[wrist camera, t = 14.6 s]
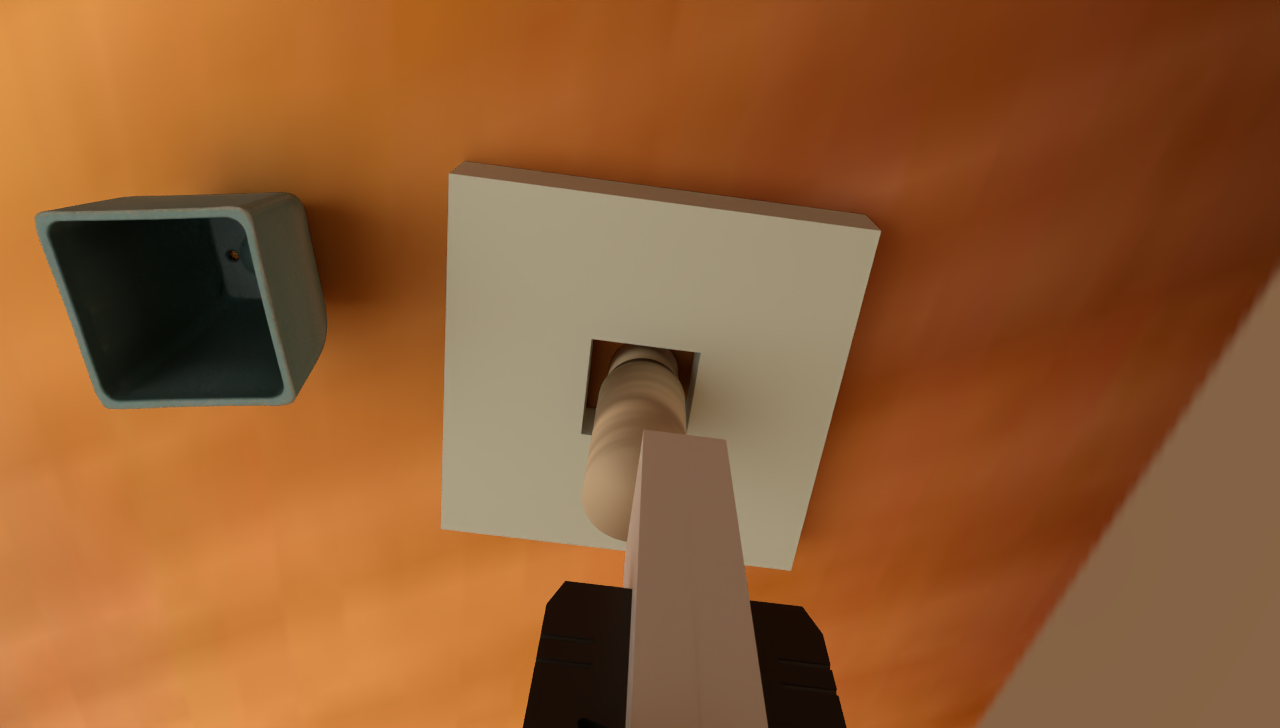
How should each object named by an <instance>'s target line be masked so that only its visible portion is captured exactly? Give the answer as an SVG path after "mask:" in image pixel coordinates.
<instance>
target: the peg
mask: <svg viewBox="0 0 1280 728" xmlns="http://www.w3.org/2000/svg"><path fill="white" fill-rule="evenodd" d="M643 430H652V431H660V432H668V433H676V434H684V435H687V434H686V411H685V394H684V390H683V387H682V385H681V383H680V381H679V379H678V365H677V361H676V359H675V357H674V355H673V354H672V352H671V351H670V350H669V349H666V348H658V347H650V346H643V345H635V344H627V343H626V344H624V345H623V346H621V347H620V348H619V349H618V350H617V351H616V352H615V353H614V355H613V357H612V359H611V361H610V365H609V371H608V376H607V377H606V378H605V380H604V381H603V383H602V385H601V388H600V391H599V397H598V402H597V408H596V414H595V420H594V426H593V431H592V437H591V443H590V449H589V454H588V460H587V466H586V472H585V478H584V483H583V489H582V505H583V508H584V511H585V513H586V515H587V517H588V519H589V520H590V521H591V523H592V524H593V525H594V526H595V527H596V528H597V529H598V530H600V531H601V532H603V533H604V534H606V535H608V536H610V537H612V538H614V539H617V540H621V541H625V542H627V538H628V531H629V524H630V518H631V511H632V504H633V497H634V491H635V484H636V477H637V471H638V464H639V457H640V451H641V444H642V437H643Z"/></svg>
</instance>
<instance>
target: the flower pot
mask: <svg viewBox="0 0 1280 728" xmlns="http://www.w3.org/2000/svg"><path fill="white" fill-rule="evenodd" d="M35 225H36V230H37V234H38V237H39V241H40V242H41V245H42V248H43V251H44V253H45V255H46V259H47V261H48V264H49V266H50V268H51V271H52V274H53V277H54V278H55V281H56V284H57V287H58V289H59V293H60V294H61V297H62V300H63V303H64V305H65V308H66V311H67V314H68V316H69V319H70V321H71V324H72V327H73V330H74V333H75V336H76V338H77V341H78V344H79V348H80V350H81V355H82V357H83V359H84V362H85V365H86V368H87V371H88V373H89V377H90V379H91V382H92V385H93V387H94V390H95V393H96V394H97V396H98V398H99V400H100V401H101V403H102V404H103V405H104V407H106V408H108V409H140V408H160V407H162V408H165V407H190V406H191V407H197V406H246V405H249V406H253V405H257V406H260V405H262V406H267V405H269V406H280V405H287V404H290V403H292V402H294V400H295V398H296V397H297V395H298V393H299V391H300V390H301V388H302V386H303V385H304V383H305V381H306V379H307V378H308V376H309V374H310V372H311V371H312V369H313V367H314V365H315V364H316V362H317V360H318V358H319V356H320V354H321V352H322V349H323V347H324V343H325V339H326V333H327V314H326V307H325V301H324V297H323V292H322V288H321V284H320V279H319V275H318V270H317V265H316V261H315V256H314V251H313V247H312V242H311V237H310V233H309V228H308V223H307V217H306V213H305V209H304V206H303V204H302V202H301V201H300V200H299V199H298V198H297V197H296V196H294V195H292V194H290V193H283V192H271V193H242V194H210V195H173V196H132V197H122V198H116V199H110V200H104V201H99V202H93V203H87V204H81V205H76V206H71V207H65V208H60V209H55V210H49V211H44V212H40V213H38V214H37V215H36V216H35ZM232 250H233V251H235V252H237V253H238V256H239V259H238V260H233V259H231V258H230V256H229V253H230V251H232Z"/></svg>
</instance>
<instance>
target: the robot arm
mask: <svg viewBox="0 0 1280 728" xmlns="http://www.w3.org/2000/svg"><path fill="white" fill-rule="evenodd" d="M836 690H837V688H836V685H835V681H834V677H833V673H832V670H830V661H829V657H828V653H827V649H826V645H825V641H824V637H823V634H822V633H821V631H820V630H819V628H818V627H817V626H816V624H815V623H814V622H813V620H812V619H811V618H810V616H809V615H808V614H807V612H806V611H805V610H804V608H803V607H801V606H792V605H784V604H775V603H767V602H758V601H750V600H749V593H748V586H747V580H746V573H745V566H744V559H743V552H742V545H741V539H740V532H739V525H738V518H737V511H736V504H735V498H734V491H733V484H732V477H731V470H730V463H729V456H728V450H727V443H726V440H724V439H716V438H708V437H700V436H692V435H684V434H676V433H668V432H660V431H652V430H643V437H642V444H641V451H640V457H639V464H638V471H637V477H636V484H635V491H634V497H633V504H632V511H631V518H630V524H629V531H628V538H627V544H626V552H625V567H624V582H623V588H621V587H612V586H604V585H595V584H587V583H578V582H570V581H565V582H564V583H563V585H562V586H561V587H560V588H559V590H558V591H557V592H556V593H555V594H554V596H553V597H552V598H551V599H550V601H549V602H548V603H547V605H546V610H545V615H544V620H543V625H542V631H541V637H540V641H539V646H538V652H537V657H536V663H535V667H534V672H533V678H532V683H531V688H530V693H529V698H528V704H527V709H526V714H525V719H524V725H523V728H846V724H845V720H844V716H843V712H842V708H841V704H840V700H839V696H837V695H836Z"/></svg>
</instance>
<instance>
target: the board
mask: <svg viewBox="0 0 1280 728" xmlns="http://www.w3.org/2000/svg"><path fill="white" fill-rule="evenodd" d="M880 234H881V230H880V229H879V228H878V227H877V226H876V225H875V224H874V223H873V222H872V221H871V220H870V219H869V218H868V217H867V216H866V215H863V214H856V213H848V212H841V211H833V210H826V209H818V208H811V207H803V206H796V205H788V204H781V203H773V202H766V201H758V200H751V199H743V198H736V197H728V196H721V195H713V194H706V193H698V192H691V191H683V190H676V189H669V188H661V187H654V186H646V185H639V184H631V183H624V182H616V181H609V180H601V179H594V178H586V177H579V176H571V175H564V174H556V173H549V172H541V171H534V170H526V169H519V168H511V167H504V166H496V165H489V164H482V163H474V162H467V161H464V162H463V163H461V164H460V165H459V166H458V167H456V168H455V169H454V170H453V171H451V172H450V173H449V193H448V238H447V282H446V327H445V371H444V416H443V460H442V505H441V529H445V530H454V531H462V532H471V533H479V534H487V535H496V536H504V537H513V538H521V539H529V540H538V541H546V542H555V543H563V544H571V545H580V546H588V547H597V548H605V549H613V550H622V551H626V544H627V542H625V541H621V540H617V539H614V538H612V537H610V536H608V535H606V534H604V533H603V532H601V531H600V530H598V529H597V528H596V527H595V526H594V525H593V524H592V523H591V521H590V520H589V519H588V517H587V515H586V513H585V511H584V508H583V505H582V489H583V483H584V478H585V472H586V466H587V460H588V454H589V449H590V443H591V437H592V431H593V426H594V420H595V414H596V408H588V407H586V403H587V394H588V385H589V376H590V367H591V358H592V349H593V340H594V339H595V340H603V341H611V342H619V343H627V344H635V345H643V346H650V347H658V348H666V349H674V350H682V351H690V352H695V353H694V359H693V364H692V370H691V376H690V382H689V387H688V393H687V399H686V405H685V411H686V434H687V435H692V436H700V437H708V438H716V439H724V440H726V443H727V450H728V456H729V463H730V470H731V477H732V484H733V491H734V498H735V504H736V511H737V518H738V525H739V532H740V539H741V545H742V552H743V559H744V565H748V566H756V567H764V568H773V569H781V570H790V571H791V568H792V565H793V561H794V557H795V553H796V550H797V546H798V542H799V538H800V535H801V531H802V527H803V523H804V520H805V516H806V512H807V508H808V504H809V501H810V497H811V493H812V489H813V486H814V482H815V478H816V474H817V471H818V467H819V463H820V459H821V456H822V452H823V448H824V444H825V441H826V437H827V433H828V429H829V425H830V422H831V418H832V414H833V410H834V407H835V403H836V399H837V395H838V392H839V388H840V384H841V380H842V377H843V373H844V369H845V365H846V362H847V358H848V354H849V350H850V346H851V343H852V339H853V335H854V331H855V328H856V324H857V320H858V316H859V313H860V309H861V305H862V301H863V298H864V294H865V290H866V286H867V283H868V279H869V275H870V271H871V267H872V264H873V260H874V256H875V252H876V249H877V245H878V241H879V237H880Z"/></svg>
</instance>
